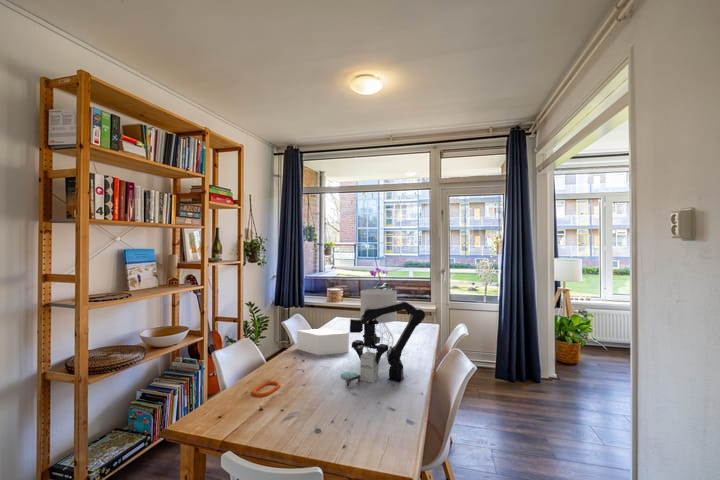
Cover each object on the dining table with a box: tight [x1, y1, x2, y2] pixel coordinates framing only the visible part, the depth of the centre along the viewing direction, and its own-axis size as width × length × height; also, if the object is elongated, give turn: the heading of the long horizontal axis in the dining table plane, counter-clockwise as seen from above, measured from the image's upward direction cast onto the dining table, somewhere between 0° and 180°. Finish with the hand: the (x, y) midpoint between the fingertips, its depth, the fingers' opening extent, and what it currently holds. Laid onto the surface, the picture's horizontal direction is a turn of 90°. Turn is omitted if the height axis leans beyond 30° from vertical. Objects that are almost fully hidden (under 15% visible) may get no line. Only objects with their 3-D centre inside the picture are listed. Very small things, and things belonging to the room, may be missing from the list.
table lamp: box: [360, 288, 398, 360], centre depth 201 cm, size 22×22×40 cm
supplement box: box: [359, 351, 380, 384], centre depth 166 cm, size 7×7×13 cm
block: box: [296, 327, 350, 356], centre depth 211 cm, size 18×35×12 cm, turn 80°
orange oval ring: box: [251, 380, 281, 398], centre depth 154 cm, size 10×2×15 cm
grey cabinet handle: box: [345, 373, 362, 389], centre depth 160 cm, size 8×9×4 cm
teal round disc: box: [340, 371, 358, 380], centre depth 170 cm, size 9×9×1 cm
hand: (369, 362), depth 166 cm, fingers open, 9 cm apart
